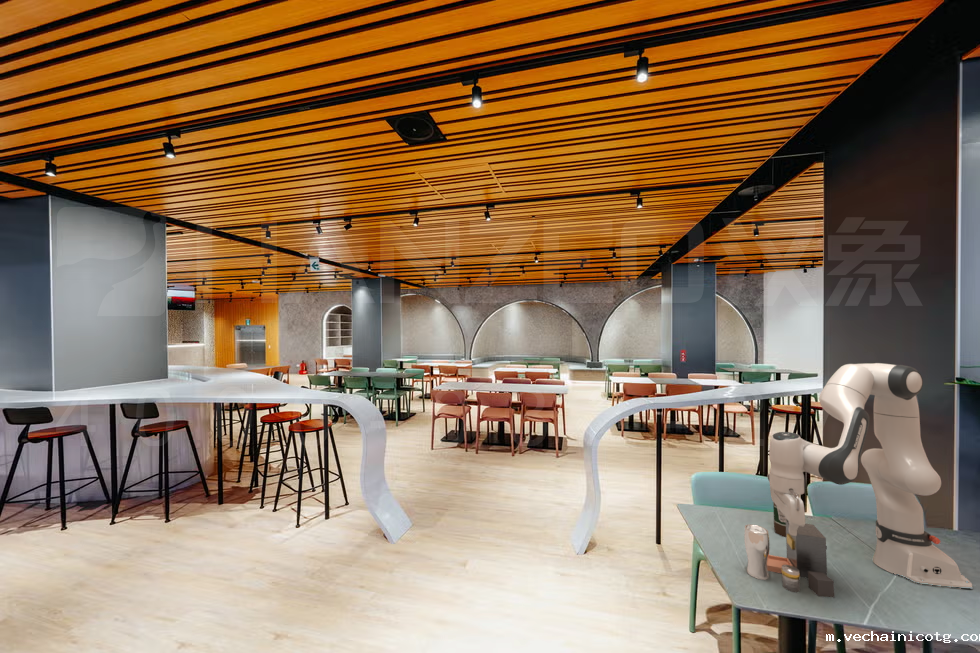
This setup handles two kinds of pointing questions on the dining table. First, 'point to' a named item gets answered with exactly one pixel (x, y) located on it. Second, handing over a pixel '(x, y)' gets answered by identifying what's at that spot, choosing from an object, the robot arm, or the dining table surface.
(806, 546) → the dark grey block
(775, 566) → the tray
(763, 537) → the beer glass
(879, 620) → the dining table surface
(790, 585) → the cylinder
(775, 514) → the beer bottle
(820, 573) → the rubber block
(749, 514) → the dining table surface
